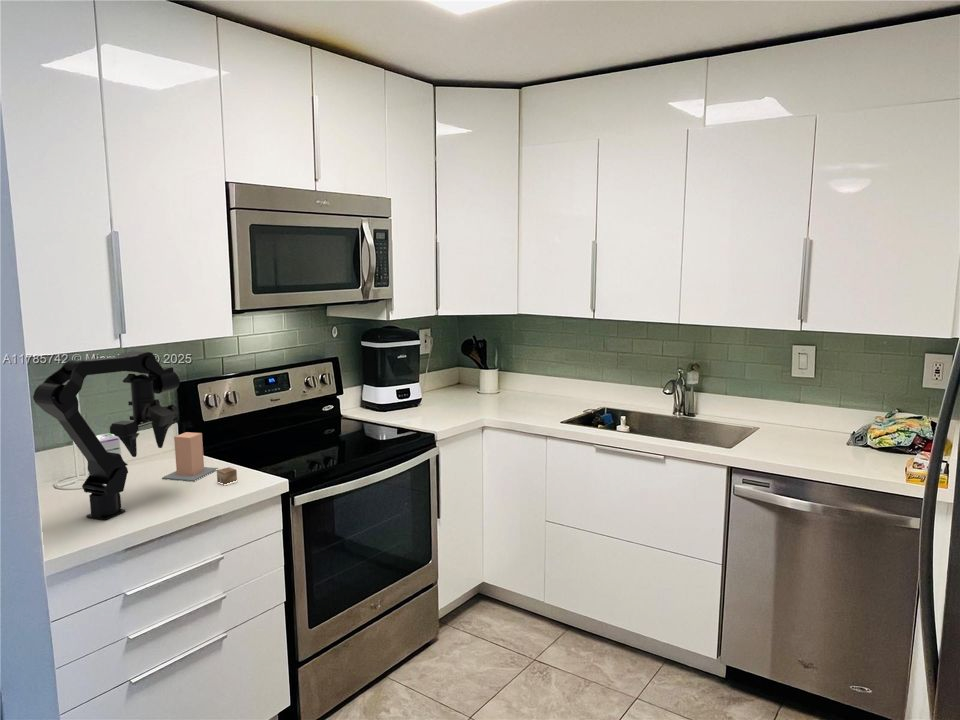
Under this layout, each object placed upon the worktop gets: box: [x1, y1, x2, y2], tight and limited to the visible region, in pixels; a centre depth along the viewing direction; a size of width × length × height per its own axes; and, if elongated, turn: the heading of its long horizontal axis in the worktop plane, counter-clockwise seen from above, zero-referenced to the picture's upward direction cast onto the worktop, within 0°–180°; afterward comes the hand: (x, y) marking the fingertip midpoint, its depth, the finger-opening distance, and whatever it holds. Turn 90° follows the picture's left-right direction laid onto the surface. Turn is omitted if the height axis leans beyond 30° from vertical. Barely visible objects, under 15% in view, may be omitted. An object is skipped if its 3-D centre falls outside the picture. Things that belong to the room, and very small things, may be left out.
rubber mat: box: [161, 466, 219, 482], centre depth 207 cm, size 12×11×1 cm
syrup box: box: [96, 432, 122, 486], centre depth 198 cm, size 6×6×14 cm
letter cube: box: [216, 466, 238, 484], centre depth 199 cm, size 4×4×4 cm
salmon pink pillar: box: [173, 431, 205, 476], centre depth 206 cm, size 6×6×12 cm
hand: (147, 452), depth 185 cm, fingers open, 9 cm apart
